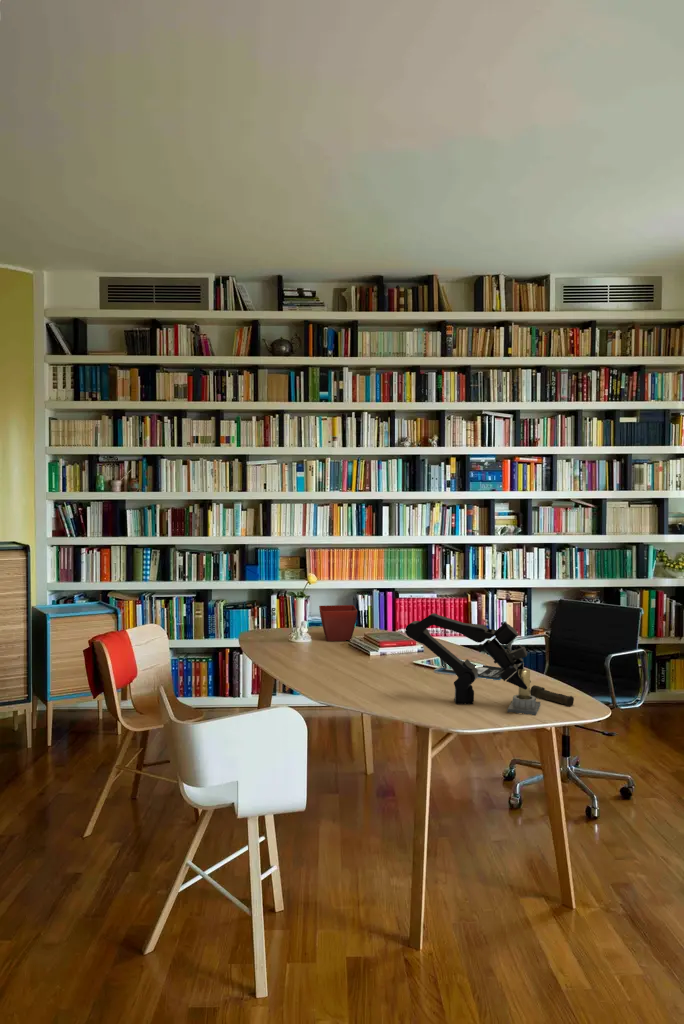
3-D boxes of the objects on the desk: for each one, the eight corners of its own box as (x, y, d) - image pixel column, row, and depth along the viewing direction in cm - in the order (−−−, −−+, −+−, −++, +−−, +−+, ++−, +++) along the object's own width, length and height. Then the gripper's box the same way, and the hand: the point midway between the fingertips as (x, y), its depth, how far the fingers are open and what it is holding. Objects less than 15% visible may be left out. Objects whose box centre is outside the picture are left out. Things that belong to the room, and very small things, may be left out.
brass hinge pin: (519, 706, 280) (520, 671, 280) (517, 703, 284) (517, 668, 284) (530, 706, 280) (531, 671, 280) (528, 703, 284) (528, 668, 284)
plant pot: (320, 643, 402) (320, 610, 401) (318, 636, 421) (319, 605, 420) (357, 642, 403) (357, 610, 403) (353, 635, 422) (353, 605, 422)
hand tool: (574, 706, 287) (574, 693, 287) (567, 707, 285) (568, 695, 285) (535, 695, 302) (535, 683, 302) (528, 696, 300) (528, 684, 300)
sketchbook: (499, 682, 323) (499, 677, 323) (432, 674, 338) (432, 669, 338) (514, 671, 342) (514, 667, 342) (450, 664, 357) (450, 659, 356)
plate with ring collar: (507, 712, 278) (507, 700, 277) (513, 702, 291) (513, 691, 290) (535, 715, 274) (536, 703, 274) (540, 705, 287) (540, 693, 287)
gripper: (510, 643, 274) (541, 677, 271) (517, 634, 292) (547, 666, 288) (487, 663, 277) (518, 697, 274) (496, 653, 295) (525, 685, 291)
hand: (528, 685), depth 282 cm, fingers open, 9 cm apart
